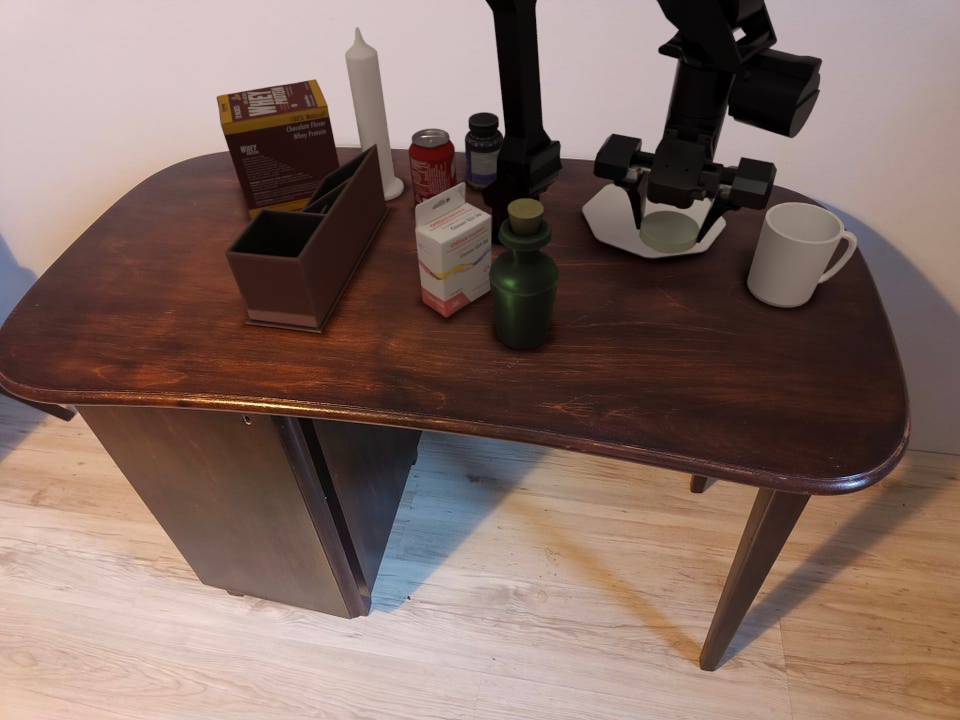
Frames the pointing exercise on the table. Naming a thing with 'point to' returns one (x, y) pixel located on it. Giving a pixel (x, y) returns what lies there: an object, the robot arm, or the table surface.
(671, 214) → the green cylinder
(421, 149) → the soda can
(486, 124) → the pill bottle
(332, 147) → the supplement box
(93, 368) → the table surface
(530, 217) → the potion bottle
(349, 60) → the candle
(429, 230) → the ink cartridge box
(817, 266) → the mug
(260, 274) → the desk organizer
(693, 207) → the plate
